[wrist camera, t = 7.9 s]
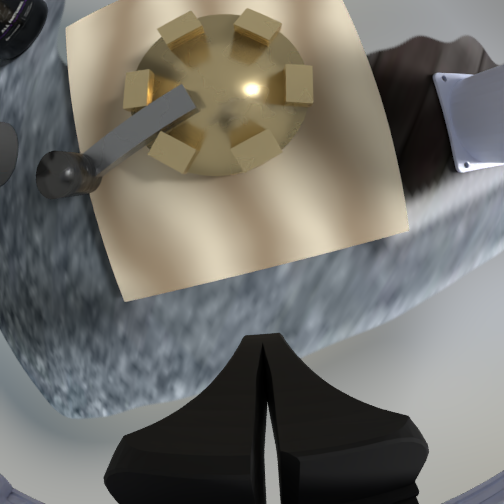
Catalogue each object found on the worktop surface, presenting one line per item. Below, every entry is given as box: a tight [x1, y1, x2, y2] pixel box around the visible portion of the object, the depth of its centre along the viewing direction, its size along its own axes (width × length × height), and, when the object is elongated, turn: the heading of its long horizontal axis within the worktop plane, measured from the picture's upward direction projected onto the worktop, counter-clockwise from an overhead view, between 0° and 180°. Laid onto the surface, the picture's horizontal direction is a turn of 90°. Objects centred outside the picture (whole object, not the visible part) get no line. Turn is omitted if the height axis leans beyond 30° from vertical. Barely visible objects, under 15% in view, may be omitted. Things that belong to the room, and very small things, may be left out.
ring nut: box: [36, 8, 313, 199], centre depth 14 cm, size 10×15×6 cm, turn 119°
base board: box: [66, 0, 409, 302], centre depth 17 cm, size 20×22×2 cm
